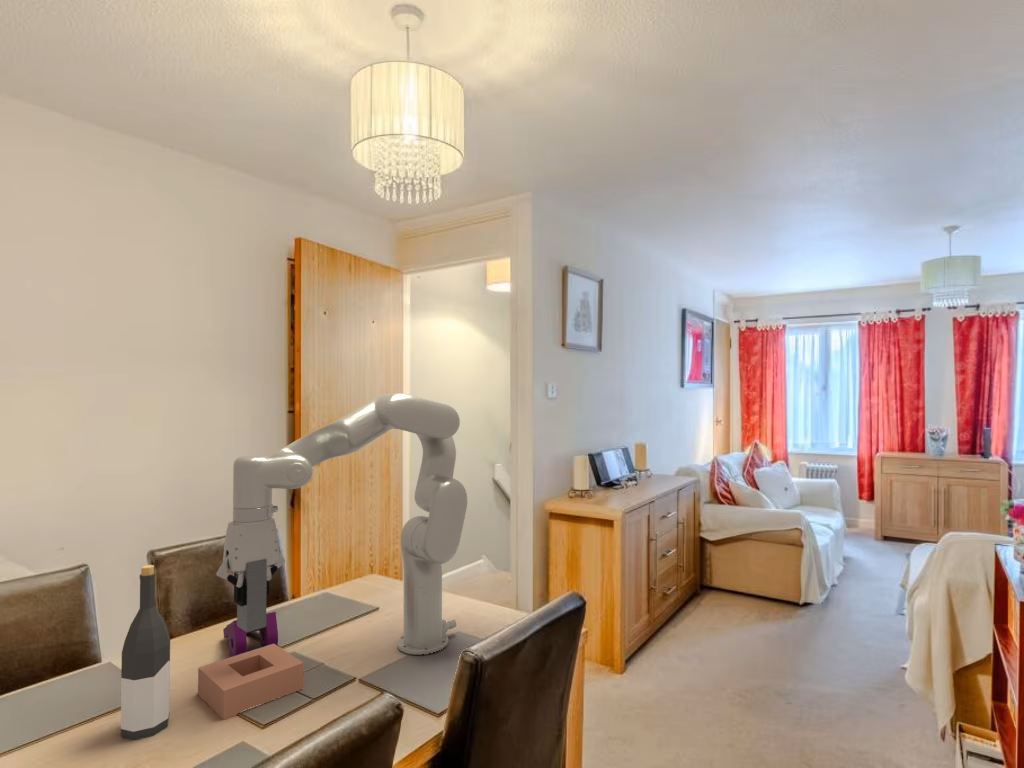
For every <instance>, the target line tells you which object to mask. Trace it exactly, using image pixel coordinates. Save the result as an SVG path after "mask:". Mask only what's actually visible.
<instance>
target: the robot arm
mask: <svg viewBox="0 0 1024 768" xmlns="http://www.w3.org/2000/svg"><path fill="white" fill-rule="evenodd" d="M460 423H461V419H460V415H459V413H458V412H457V410H456V409H455V408H454V407H452V406H451V405H449V404H447V403H442V402H439V401H433V400H429V399H425V398H422V397H418V396H414V395H410V394H407V393H403V392H393V393H392V392H391V393H382V394H380V395H378V396H376V397H374V398H373V399H372V398H371V400H369V401H367V402H365V403H364V404H362V405H361V406H359V407H357V408H355V409H354V410H352V411H350V412H348V413H347V414H345V415H344V416H342V417H340V418H338V419H337V420H334V421H332V422H331V423H328V424H326V425H324V426H322V427H320V428H318V429H316V430H313V431H312V432H310V433H308V434H306V435H303V436H301V437H300V438H298V439H296V440H295V441H293V442H291V443H289V444H287V445H286V446H284V447H282V448H281V449H279V450H277V451H276V452H274V453H273V454H272V455H271V456H267V455H261V454H260V455H259V454H257V455H255V454H253V455H243V456H239V457H237V458H235V460H234V462H233V467H232V468H233V469H232V470H233V473H232V474H233V476H232V477H233V478H232V479H233V480H232V482H233V483H232V484H233V486H232V487H233V488H232V489H233V490H232V493H233V494H232V521H230V522H228V524H227V528H226V532H225V538H224V545H223V557H222V563H221V564H220V566H219V568H218V570H217V571H216V572H215V573H216V574H215V575H216V576H217V577H219V578H221V579H223V580H226V581H228V582H229V583H231V584H232V585H233V601H234V602H235V603H236V605H237V604H238V605H240V606H244V605H245V587H244V586H243V580H244V575H245V571H246V567H247V563H251V562H256V561H261V560H265V559H266V560H267V592H266V601H268V595H269V594H270V581H271V580H272V577H273V575H274V574H275V573H276V572H277V570H278V569H279V568H280V567H282V566H283V565H284V564H285V562H286V559H285V558H284V556H283V555H282V554H281V552H280V551H279V549H280V548H279V537H278V530H277V524H276V521H275V520H276V519H275V518H274V516H273V514H274V513H277V512H278V511H279V508H278V506H277V505H273V489H284V490H295V489H299V488H302V487H304V486H305V485H307V484H308V483H309V482H310V480H311V478H312V477H313V467H314V466H316V465H318V464H321V463H323V462H325V461H327V460H329V459H332V458H336V457H337V458H338V457H341V456H346V455H350V454H352V453H355V452H358V451H359V450H360V449H362V448H364V447H365V446H366V445H368V444H370V443H371V442H373V441H375V440H376V439H378V438H380V437H381V436H382V435H384V434H386V433H387V432H389V431H390V430H392V429H393V430H400V431H405V432H408V433H412V434H415V435H416V436H417V437H418V439H419V441H420V443H421V447H422V458H421V464H420V468H419V474H418V477H417V480H416V481H417V482H416V487H415V490H414V501H415V504H416V506H417V507H418V508H419V509H422V510H423V511H425V512H428V516H425V515H424V516H423V515H418V516H415V517H412V518H410V519H409V520H407V521H406V522H405V524H404V525H403V527H402V529H401V533H400V548H401V553H402V554H401V555H402V565H403V634H402V635H400V636H399V638H398V639H397V641H396V645H397V646H396V647H397V649H398V650H399V651H400V652H402V653H405V654H407V655H408V654H409V655H416V656H418V655H419V656H420V655H421V656H422V654H424V655H429V653H431V654H433V652H435V653H437V652H436V651H438V652H440V651H442V650H444V649H445V648H446V647H447V646H448V644H449V637H448V635H447V634H446V633H448V630H451V629H454V628H456V627H457V621H456V620H455V619H451V620H449V621H446V619H443V569H442V568H443V567H442V566H443V564H446V563H448V562H449V561H451V560H452V559H453V557H454V556H455V555H456V554H457V551H458V548H459V545H460V542H461V537H462V533H463V529H464V525H465V524H464V523H465V519H466V513H467V508H468V494H467V490H466V488H465V486H464V485H463V483H461V482H460V481H459V480H458V479H456V478H454V472H455V466H456V465H455V464H456V458H457V450H456V444H455V441H454V437H453V436H454V435H455V434H456V433H457V431H458V430H459V428H460ZM228 570H230V571H231V572H232V574H231V573H229V572H228ZM446 645H447V646H446ZM445 646H446V647H445ZM444 647H445V648H444ZM443 648H444V649H443ZM441 649H442V650H441ZM439 650H440V651H439Z"/></svg>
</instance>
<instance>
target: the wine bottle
mask: <svg viewBox="0 0 1024 768" xmlns="http://www.w3.org/2000/svg"><path fill="white" fill-rule="evenodd" d="M140 569H141V573H140V574H139V609H138V612H137V613H136V615H135V617H134V618H133V620H132V622H131V623H130V625H129V629H128V631H127V634H126V636H125V638H124V639H125V640H124V643H123V646H122V650H121V669H120V671H121V674H120V675H121V679H120V681H121V684H120V688H121V689H120V737H121V738H124V739H127V740H132V741H135V740H140V739H144V738H148V737H153V736H155V735H157V734H158V733H159V732H162V731H163V730H164V729H166V728H168V726H169V719H170V704H171V703H170V700H171V699H170V697H171V696H170V692H171V691H170V690H171V689H170V687H171V637H170V631H169V628H168V626H167V623H166V621H165V619H164V617H163V615H162V614H161V613H160V612H159V610H158V609H157V607H156V605H155V598H156V597H155V593H156V591H155V589H156V585H155V584H156V579H155V578H156V572H155V571H154V570H155V566H154V564H153V565H152V564H147V565H143V566H141V568H140Z"/></svg>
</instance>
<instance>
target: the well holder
mask: <svg viewBox="0 0 1024 768" xmlns="http://www.w3.org/2000/svg"><path fill="white" fill-rule="evenodd" d="M197 669H198V670H197V673H198V674H197V695H198V696H199V697H200V698H201V699H202V700H203V701H204V702H205V703H206V704H207V705H208V706H209V707H210V708H211V709H212V710H213V711H214V712H215V713H216V714H217V715H218V716H219V717H220V718H221V719H222V720H223V721H224V720H228V719H230V718H232V717H234V716H237V714H238V713H239V712H241V711H243V710H245V709H248V708H250V707H253V706H256V705H259V704H263V703H266V702H268V703H270V702H269V701H271V700H273V699H276V698H278V697H281V698H283V697H282V696H284V695H286V696H288V694H289V695H291V694H290V693H292V694H294V693H296V691H297V692H298V690H299V691H301V690H300V689H302V688H303V689H304V662H303V661H301V660H300V659H298V658H297V657H295V656H294V655H292V654H290V653H289V652H287V651H286V650H285V649H284V648H281V647H280V646H277V645H275V644H271V645H268V646H265V647H261V646H260V647H259V648H255V649H252V650H250V651H247V652H246V653H242V654H239V655H236V656H233V657H231V656H230V657H227V658H224V659H222V660H218V661H215V662H211V663H208V664H206V665H205V664H204V665H203V666H201V665H200V666H199V667H197ZM303 689H302V690H303ZM293 692H294V693H293ZM284 697H285V696H284ZM276 700H277V699H276ZM271 702H272V701H271ZM266 704H267V703H266ZM263 705H264V704H263ZM238 715H239V714H238Z"/></svg>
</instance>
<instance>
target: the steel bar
mask: <svg viewBox="0 0 1024 768" xmlns="http://www.w3.org/2000/svg"><path fill="white" fill-rule="evenodd" d="M243 586H244V587H245V605H244V606H240V605H238V604H236V620H237V626H238V627H240V628H241V629H243V630H244V631H245V632H250V631H253V630H257V629H260V628H263V627H266V614H267V600H266V592H267V560H266V559H265V560H261V561H256V562H251V563H247V567H246V571H245V575H244V580H243Z"/></svg>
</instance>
